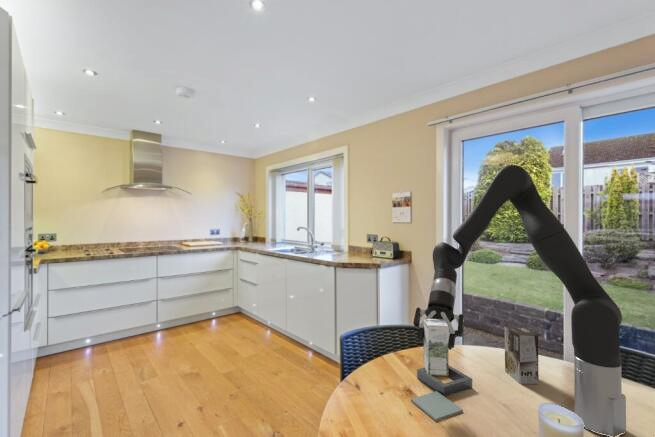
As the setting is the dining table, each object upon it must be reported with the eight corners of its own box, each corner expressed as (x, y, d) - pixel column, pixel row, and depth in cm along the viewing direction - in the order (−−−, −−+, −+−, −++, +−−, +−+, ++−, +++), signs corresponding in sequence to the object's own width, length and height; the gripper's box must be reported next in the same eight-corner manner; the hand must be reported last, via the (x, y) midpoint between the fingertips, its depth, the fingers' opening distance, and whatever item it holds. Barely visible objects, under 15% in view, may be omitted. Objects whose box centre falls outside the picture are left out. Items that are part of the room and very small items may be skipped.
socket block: (472, 388, 96) (472, 378, 96) (443, 396, 91) (443, 387, 91) (443, 370, 107) (443, 362, 107) (417, 378, 102) (417, 369, 102)
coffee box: (539, 384, 98) (539, 335, 98) (519, 384, 98) (519, 335, 98) (522, 370, 107) (521, 325, 107) (504, 370, 107) (503, 325, 108)
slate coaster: (462, 411, 84) (462, 409, 84) (435, 421, 80) (435, 419, 80) (436, 393, 93) (436, 391, 93) (410, 400, 89) (410, 398, 89)
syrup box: (443, 366, 90) (442, 318, 90) (449, 377, 84) (448, 325, 84) (423, 365, 90) (423, 317, 90) (428, 376, 84) (427, 324, 84)
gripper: (417, 286, 97) (407, 334, 87) (465, 292, 90) (460, 344, 80) (421, 299, 102) (412, 345, 92) (467, 305, 94) (463, 356, 84)
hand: (434, 345), depth 86 cm, fingers closed on syrup box, 7 cm apart
